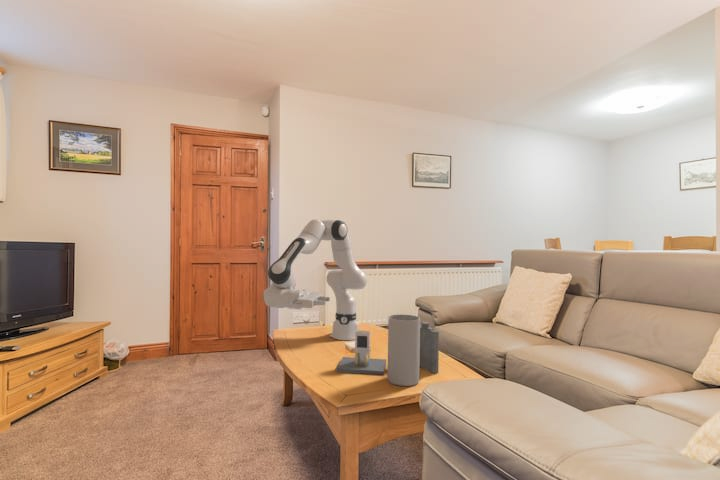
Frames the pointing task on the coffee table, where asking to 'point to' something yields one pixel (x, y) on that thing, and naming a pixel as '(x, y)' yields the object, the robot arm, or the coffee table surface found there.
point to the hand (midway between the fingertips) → (327, 301)
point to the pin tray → (362, 366)
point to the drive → (362, 346)
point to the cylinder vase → (403, 349)
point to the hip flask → (429, 348)
